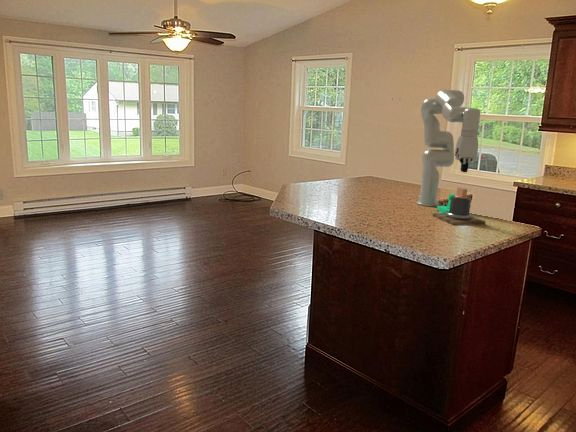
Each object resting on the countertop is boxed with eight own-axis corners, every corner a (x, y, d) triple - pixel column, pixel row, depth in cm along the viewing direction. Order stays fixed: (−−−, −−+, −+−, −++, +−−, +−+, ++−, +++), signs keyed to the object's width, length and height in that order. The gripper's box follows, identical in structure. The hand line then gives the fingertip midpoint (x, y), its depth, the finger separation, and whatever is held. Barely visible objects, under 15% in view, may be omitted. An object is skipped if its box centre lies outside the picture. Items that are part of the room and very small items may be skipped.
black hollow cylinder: (441, 214, 249) (443, 195, 246) (462, 214, 251) (464, 195, 249) (454, 220, 237) (457, 200, 235) (476, 219, 240) (478, 200, 238)
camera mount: (435, 210, 267) (437, 192, 264) (448, 210, 268) (450, 192, 266) (446, 215, 255) (448, 196, 253) (459, 215, 257) (462, 196, 254)
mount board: (432, 216, 251) (433, 213, 251) (463, 215, 255) (464, 213, 255) (452, 224, 234) (452, 221, 234) (484, 224, 238) (485, 221, 238)
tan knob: (450, 204, 245) (452, 187, 243) (461, 204, 247) (464, 187, 245) (458, 207, 239) (460, 189, 237) (469, 206, 241) (471, 189, 239)
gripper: (478, 134, 240) (472, 170, 245) (451, 133, 237) (446, 170, 241) (487, 135, 233) (481, 173, 238) (459, 134, 230) (454, 173, 234)
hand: (463, 171), depth 240 cm, fingers closed
